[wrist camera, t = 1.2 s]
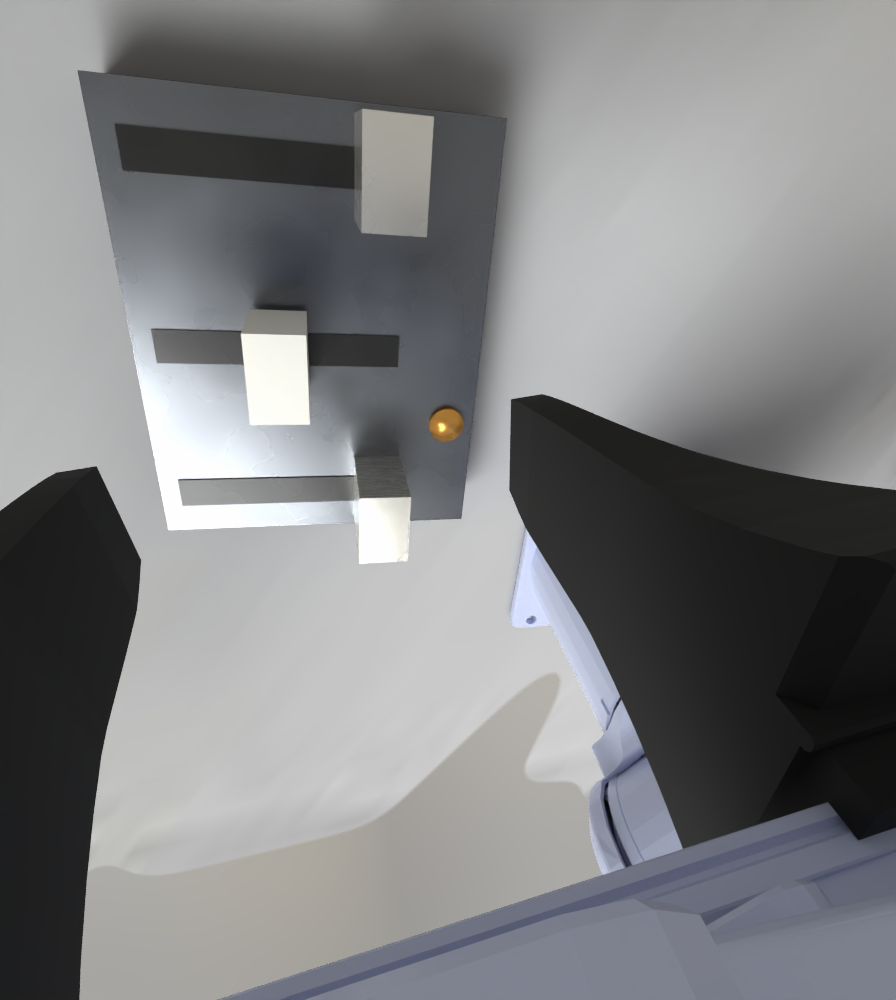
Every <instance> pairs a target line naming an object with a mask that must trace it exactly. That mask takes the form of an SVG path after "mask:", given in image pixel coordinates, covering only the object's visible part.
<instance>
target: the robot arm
mask: <svg viewBox="0 0 896 1000" xmlns="http://www.w3.org/2000/svg"><path fill="white" fill-rule="evenodd" d="M509 490H510V492H511V495H512V497H513V499H514V502H515V504H516V507H517V509H518V512H519V514H520V516H521V518H522V520H523V523H524V525H525V527H526V531H525V536H524V542H523V547H522V552H521V558H520V563H519V569H518V574H517V580H516V585H515V590H514V596H513V601H512V607H511V612H510V621H511V624H512V625H513V626H514V627H516V628H524V627H536V626H548V625H551V627H552V629H553V631H554V633H555V635H556V637H557V639H558V641H559V643H560V645H561V647H562V649H563V651H564V653H565V655H566V657H567V660H568V662H569V664H570V666H571V668H572V670H573V672H574V674H575V676H576V678H577V680H578V682H579V684H580V686H581V688H582V690H583V692H584V694H585V696H586V698H587V700H588V702H589V704H590V706H591V708H592V710H593V712H594V714H595V717H596V719H597V721H598V723H599V725H600V727H601V729H602V731H603V733H604V735H603V736H602V737H601V738H600V739H599V740H598V741H597V742H596V743H595V744H594V745H593V746H592V750H593V753H594V755H595V757H596V759H597V761H598V764H599V766H600V768H601V770H602V772H603V774H604V778H603V779H601V780H599V781H598V782H596V783H595V785H594V786H593V788H592V789H591V791H590V795H589V817H590V835H591V840H592V845H593V849H594V852H595V856H596V859H597V861H598V864H599V867H600V869H601V872H602V874H603V875H601V876H598V877H595V878H592V879H589V880H586V881H582V882H579V883H577V884H574V885H570V886H567V887H564V888H561V889H558V890H555V891H552V892H549V893H545V894H542V895H539V896H537V897H533V898H530V899H527V900H524V901H521V902H518V903H515V904H511V905H509V906H505V907H503V908H499V909H496V910H493V911H490V912H487V913H484V914H481V915H478V916H475V917H472V918H468V919H465V920H462V921H459V922H456V923H453V924H450V925H447V926H444V927H441V928H437V929H434V930H432V931H428V932H425V933H422V934H419V935H416V936H413V937H410V938H407V939H404V940H400V941H398V942H394V943H391V944H388V945H385V946H382V947H379V948H376V949H373V950H370V951H367V952H363V953H360V954H358V955H354V956H351V957H348V958H345V959H342V960H339V961H336V962H332V963H329V964H326V965H324V966H320V967H317V968H314V969H311V970H308V971H305V972H302V973H299V974H296V975H293V976H289V977H286V978H283V979H280V980H277V981H274V982H271V983H268V984H265V985H262V986H258V987H255V988H252V989H249V990H246V991H243V992H240V993H237V994H234V995H231V996H228V997H225V998H222V999H218V1000H896V490H890V489H882V488H873V487H865V486H857V485H849V484H841V483H835V482H828V481H821V480H815V479H809V478H804V477H798V476H793V475H788V474H783V473H778V472H772V471H767V470H762V469H758V468H754V467H749V466H745V465H741V464H737V463H733V462H730V461H726V460H722V459H718V458H715V457H711V456H707V455H704V454H700V453H697V452H694V451H691V450H687V449H684V448H681V447H678V446H675V445H673V444H670V443H667V442H664V441H661V440H658V439H656V438H653V437H650V436H647V435H645V434H642V433H640V432H637V431H634V430H632V429H629V428H627V427H624V426H622V425H619V424H617V423H615V422H612V421H610V420H607V419H605V418H603V417H600V416H598V415H595V414H593V413H591V412H588V411H586V410H584V409H581V408H579V407H576V406H574V405H572V404H569V403H567V402H564V401H561V400H559V399H556V398H553V397H550V396H546V395H542V394H541V395H535V396H529V397H523V398H517V399H511V436H510V488H509ZM140 566H141V559H140V557H139V555H138V553H137V551H136V549H135V546H134V544H133V542H132V540H131V538H130V536H129V534H128V532H127V530H126V528H125V525H124V523H123V521H122V519H121V517H120V515H119V513H118V511H117V509H116V507H115V504H114V502H113V500H112V498H111V496H110V494H109V492H108V490H107V488H106V486H105V483H104V481H103V479H102V477H101V475H100V473H99V471H98V469H97V467H90V468H83V469H77V470H71V471H65V472H59V473H55V474H53V475H52V476H50V477H48V478H46V479H45V480H43V481H41V482H40V483H38V484H37V485H35V486H34V487H32V488H31V489H30V490H28V491H27V492H25V493H24V494H23V495H21V496H20V497H18V498H17V499H16V500H14V501H13V502H12V503H10V504H9V505H8V506H6V507H5V508H4V509H2V510H1V511H0V1000H79V992H80V966H81V949H82V936H83V923H84V909H85V895H86V880H87V871H88V862H89V852H90V843H91V833H92V823H93V814H94V806H95V799H96V791H97V784H98V776H99V769H100V761H101V754H102V750H103V745H104V740H105V735H106V730H107V726H108V722H109V718H110V714H111V710H112V706H113V703H114V699H115V695H116V691H117V687H118V683H119V679H120V676H121V672H122V668H123V664H124V660H125V656H126V652H127V648H128V644H129V640H130V636H131V632H132V628H133V624H134V620H135V616H136V611H137V603H138V593H139V582H140ZM530 616H532V617H531V618H528V617H530ZM527 618H528V619H527Z"/></svg>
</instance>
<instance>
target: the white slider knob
mask: <svg viewBox="0 0 896 1000" xmlns="http://www.w3.org/2000/svg"><path fill="white" fill-rule="evenodd" d="M241 340H242V350H243V361H244V371H245V381H246V391H247V401H248V411H249V421H250V425H310V380H309V356H308V331H307V311H288V310H260V309H249V312H248V315H247V318H246V320H245V323H244V326H243V329H242V332H241Z"/></svg>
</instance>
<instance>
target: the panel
mask: <svg viewBox="0 0 896 1000" xmlns="http://www.w3.org/2000/svg"><path fill="white" fill-rule="evenodd" d="M78 75H79V80H80V85H81V90H82V95H83V100H84V105H85V110H86V115H87V120H88V126H89V131H90V136H91V141H92V146H93V151H94V156H95V161H96V166H97V171H98V176H99V181H100V186H101V191H102V196H103V201H104V206H105V212H106V217H107V222H108V227H109V232H110V237H111V242H112V247H113V252H114V257H115V262H116V267H117V272H118V277H119V282H120V287H121V292H122V298H123V303H124V308H125V313H126V318H127V323H128V328H129V333H130V338H131V343H132V348H133V353H134V358H135V363H136V368H137V373H138V378H139V384H140V389H141V394H142V399H143V404H144V409H145V414H146V419H147V424H148V429H149V434H150V439H151V444H152V449H153V454H154V459H155V464H156V470H157V475H158V480H159V485H160V490H161V495H162V500H163V505H164V510H165V515H166V520H167V525H168V530H186V529H211V528H237V527H262V526H287V525H313V524H338V523H355V530H356V539H357V547H358V556H359V563H378V562H396V561H407V560H408V544H409V527H410V521H414V520H440V519H461V516H462V507H463V499H464V490H465V481H466V472H467V463H468V455H469V446H470V437H471V428H472V419H473V411H474V402H475V393H476V384H477V376H478V367H479V358H480V349H481V340H482V332H483V323H484V314H485V305H486V297H487V288H488V279H489V270H490V261H491V253H492V244H493V235H494V226H495V218H496V209H497V200H498V191H499V182H500V174H501V165H502V156H503V147H504V139H505V130H506V121H507V118H498V117H490V116H481V115H472V114H463V113H454V112H445V111H436V110H427V109H418V108H409V107H400V106H391V105H382V104H374V103H365V102H356V101H347V100H338V99H329V98H320V97H311V96H302V95H293V94H284V93H275V92H267V91H258V90H249V89H240V88H231V87H222V86H213V85H204V84H195V83H186V82H177V81H168V80H160V79H151V78H142V77H133V76H124V75H115V74H106V73H97V72H88V71H79V70H78ZM249 309H260V310H288V311H307V331H308V356H309V380H310V425H250V421H249V411H248V401H247V391H246V381H245V371H244V361H243V350H242V340H241V332H242V329H243V326H244V323H245V320H246V318H247V315H248V312H249Z"/></svg>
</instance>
